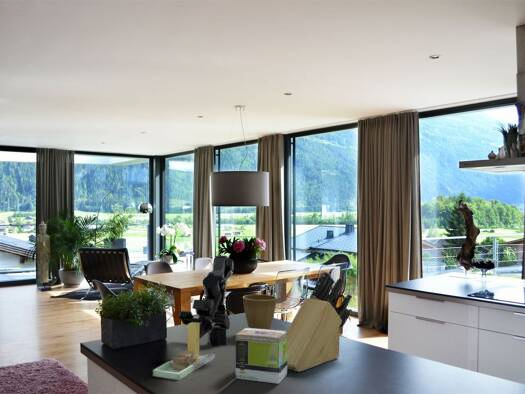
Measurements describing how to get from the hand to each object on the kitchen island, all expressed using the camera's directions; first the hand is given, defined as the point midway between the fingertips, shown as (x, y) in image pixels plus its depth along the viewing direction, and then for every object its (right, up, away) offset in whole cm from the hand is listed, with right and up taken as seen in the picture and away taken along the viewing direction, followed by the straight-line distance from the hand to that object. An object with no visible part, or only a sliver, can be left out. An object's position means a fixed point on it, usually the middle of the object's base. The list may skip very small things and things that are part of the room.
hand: (196, 340), depth 177 cm
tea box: (+23, -9, -13) cm, 28 cm away
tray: (-6, -8, -14) cm, 17 cm away
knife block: (+43, -9, +5) cm, 44 cm away
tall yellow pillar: (-1, -7, -2) cm, 7 cm away
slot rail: (-1, -8, -2) cm, 9 cm away
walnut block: (-4, -7, -9) cm, 12 cm away
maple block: (-2, -7, -6) cm, 9 cm away
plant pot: (+22, -9, +41) cm, 48 cm away
